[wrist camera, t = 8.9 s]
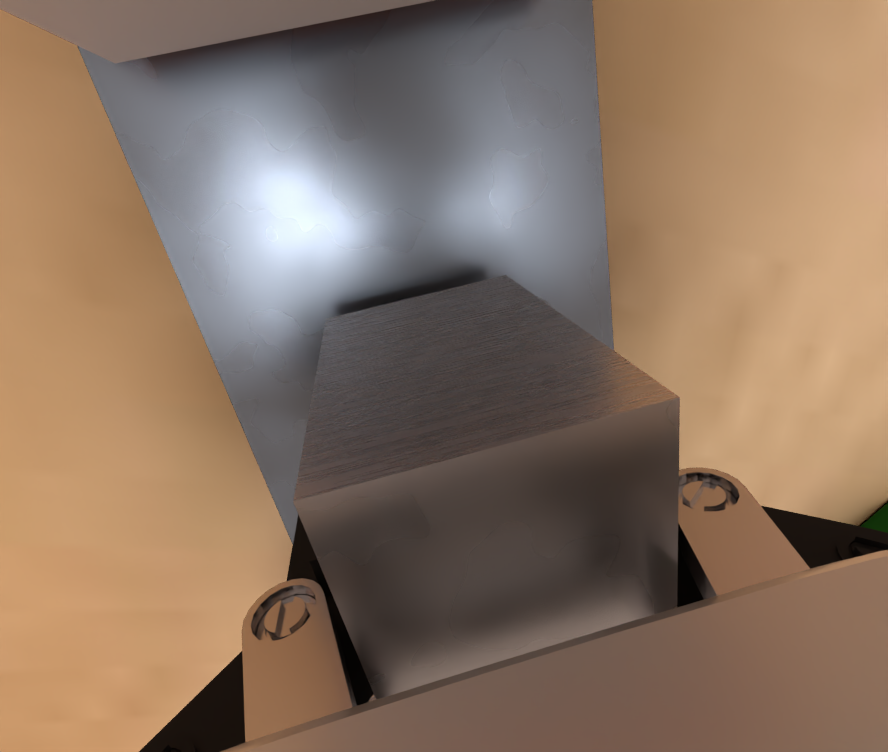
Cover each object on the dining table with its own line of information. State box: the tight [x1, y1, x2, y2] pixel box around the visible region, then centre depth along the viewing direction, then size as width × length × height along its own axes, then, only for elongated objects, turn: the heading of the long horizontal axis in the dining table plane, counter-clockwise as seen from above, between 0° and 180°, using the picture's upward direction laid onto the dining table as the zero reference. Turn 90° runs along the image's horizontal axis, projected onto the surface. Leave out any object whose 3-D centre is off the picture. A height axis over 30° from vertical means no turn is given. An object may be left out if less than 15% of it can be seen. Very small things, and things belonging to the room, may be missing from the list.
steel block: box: [293, 275, 680, 700], centre depth 10 cm, size 4×7×7 cm, turn 12°
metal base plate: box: [78, 0, 614, 702], centre depth 10 cm, size 11×22×8 cm, turn 12°
